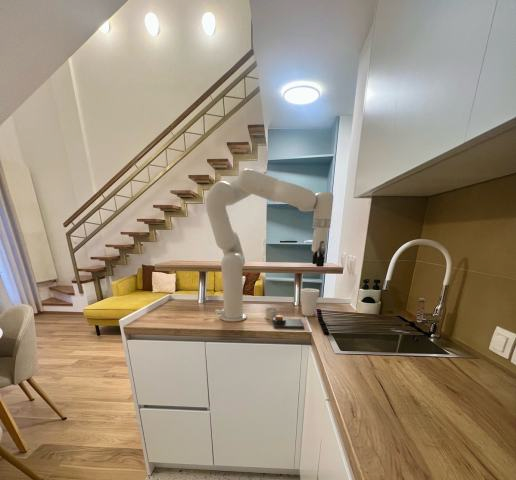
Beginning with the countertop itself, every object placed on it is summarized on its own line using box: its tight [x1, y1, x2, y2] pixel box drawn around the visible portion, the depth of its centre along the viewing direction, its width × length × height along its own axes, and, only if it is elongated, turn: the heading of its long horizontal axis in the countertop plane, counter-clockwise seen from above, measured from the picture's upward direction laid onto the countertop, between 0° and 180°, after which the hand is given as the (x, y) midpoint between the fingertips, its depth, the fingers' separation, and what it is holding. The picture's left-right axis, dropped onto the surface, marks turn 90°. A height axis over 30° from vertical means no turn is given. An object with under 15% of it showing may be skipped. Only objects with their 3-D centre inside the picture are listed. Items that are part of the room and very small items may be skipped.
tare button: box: [276, 314, 284, 320], centre depth 131 cm, size 3×3×2 cm
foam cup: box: [300, 287, 320, 317], centre depth 147 cm, size 10×9×13 cm
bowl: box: [265, 307, 280, 321], centre depth 141 cm, size 7×7×5 cm
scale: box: [272, 317, 305, 330], centre depth 131 cm, size 14×11×3 cm
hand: (317, 265), depth 128 cm, fingers open, 9 cm apart
